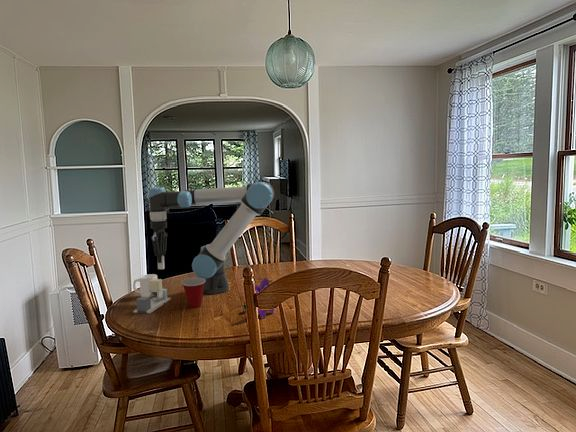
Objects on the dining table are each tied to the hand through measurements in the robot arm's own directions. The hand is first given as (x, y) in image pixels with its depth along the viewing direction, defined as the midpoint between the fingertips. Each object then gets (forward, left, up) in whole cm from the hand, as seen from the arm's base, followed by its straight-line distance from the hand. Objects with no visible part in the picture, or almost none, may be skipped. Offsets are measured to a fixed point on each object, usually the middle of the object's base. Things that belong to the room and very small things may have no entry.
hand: (161, 268), depth 209 cm
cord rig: (0, +11, -15) cm, 18 cm away
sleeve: (0, +7, -13) cm, 14 cm away
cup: (+11, -3, -15) cm, 19 cm away
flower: (-51, +17, -15) cm, 56 cm away
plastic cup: (-20, +10, -15) cm, 27 cm away
